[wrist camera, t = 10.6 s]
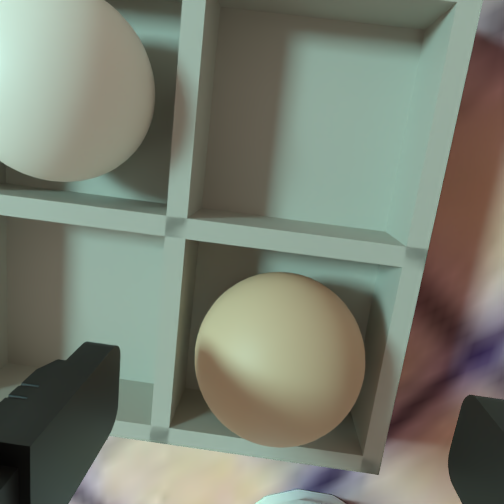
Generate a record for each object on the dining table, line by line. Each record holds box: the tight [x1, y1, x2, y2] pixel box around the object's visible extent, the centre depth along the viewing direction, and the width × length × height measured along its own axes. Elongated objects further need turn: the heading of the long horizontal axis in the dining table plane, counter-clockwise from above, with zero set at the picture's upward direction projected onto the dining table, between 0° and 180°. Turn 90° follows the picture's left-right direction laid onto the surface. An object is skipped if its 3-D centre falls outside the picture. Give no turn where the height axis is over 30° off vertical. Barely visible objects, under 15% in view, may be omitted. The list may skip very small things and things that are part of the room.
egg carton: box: [0, 0, 483, 475], centre depth 14 cm, size 14×21×3 cm
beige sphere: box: [195, 272, 365, 448], centre depth 13 cm, size 5×5×5 cm
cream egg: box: [0, 0, 155, 182], centre depth 11 cm, size 5×5×5 cm
